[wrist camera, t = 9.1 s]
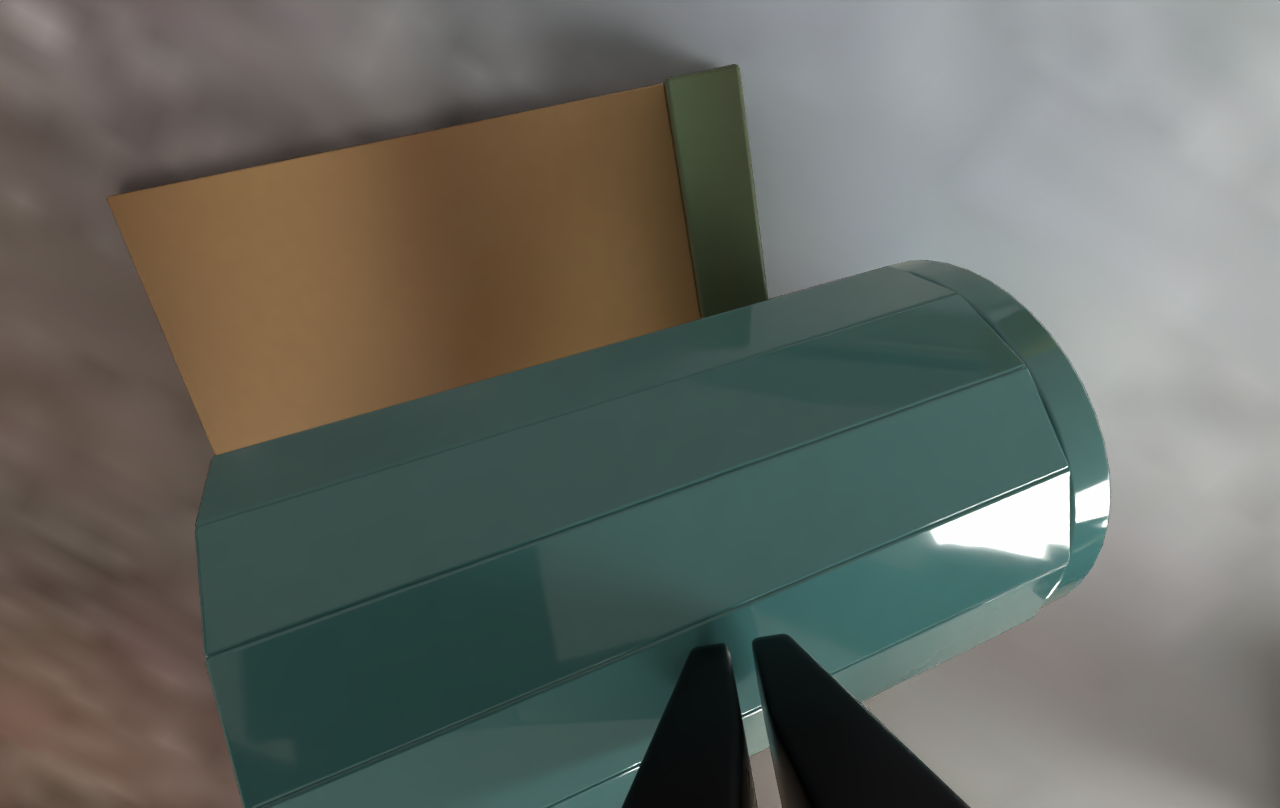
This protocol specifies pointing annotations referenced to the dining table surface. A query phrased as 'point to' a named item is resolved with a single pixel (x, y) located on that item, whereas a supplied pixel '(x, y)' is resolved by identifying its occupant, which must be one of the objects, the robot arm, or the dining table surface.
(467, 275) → the cork mat
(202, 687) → the dining table surface
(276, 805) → the cup
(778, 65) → the dining table surface
